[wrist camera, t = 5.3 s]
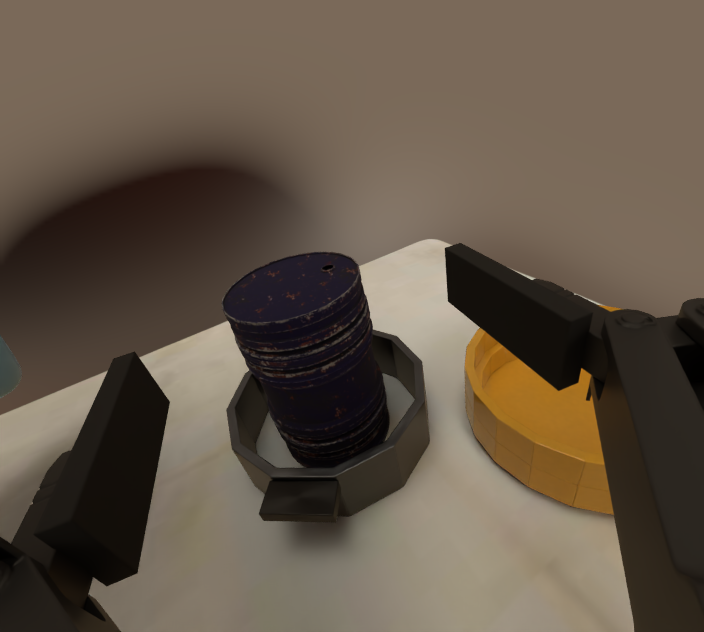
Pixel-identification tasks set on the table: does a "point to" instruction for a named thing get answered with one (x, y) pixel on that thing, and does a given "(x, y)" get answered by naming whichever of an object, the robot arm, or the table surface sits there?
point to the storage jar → (312, 354)
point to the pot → (348, 477)
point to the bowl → (536, 426)
